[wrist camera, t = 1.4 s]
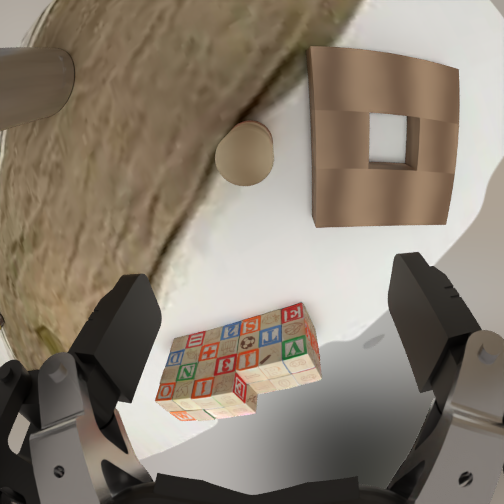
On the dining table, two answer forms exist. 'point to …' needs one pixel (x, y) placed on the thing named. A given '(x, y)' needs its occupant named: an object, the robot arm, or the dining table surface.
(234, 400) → the stack of blocks
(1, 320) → the sauce bottle
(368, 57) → the board
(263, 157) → the peg
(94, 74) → the dining table surface
